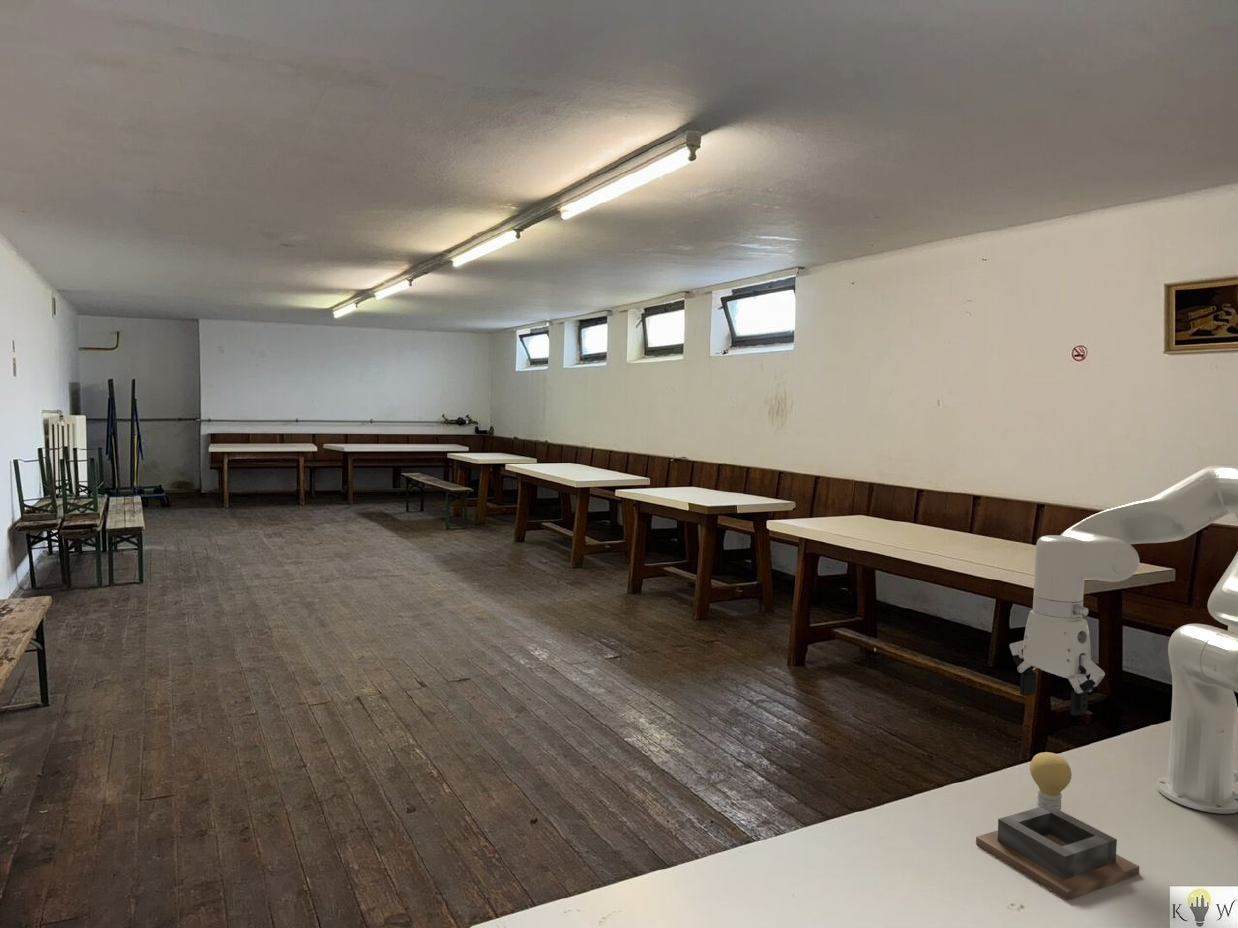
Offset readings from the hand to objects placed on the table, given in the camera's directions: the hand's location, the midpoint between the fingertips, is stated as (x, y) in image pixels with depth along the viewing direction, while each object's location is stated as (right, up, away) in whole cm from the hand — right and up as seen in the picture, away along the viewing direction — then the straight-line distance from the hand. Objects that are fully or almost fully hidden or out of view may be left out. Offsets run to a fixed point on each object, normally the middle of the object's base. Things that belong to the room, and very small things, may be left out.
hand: (1052, 703), depth 137 cm
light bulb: (0, -19, +1) cm, 19 cm away
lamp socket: (-7, -20, -14) cm, 25 cm away
